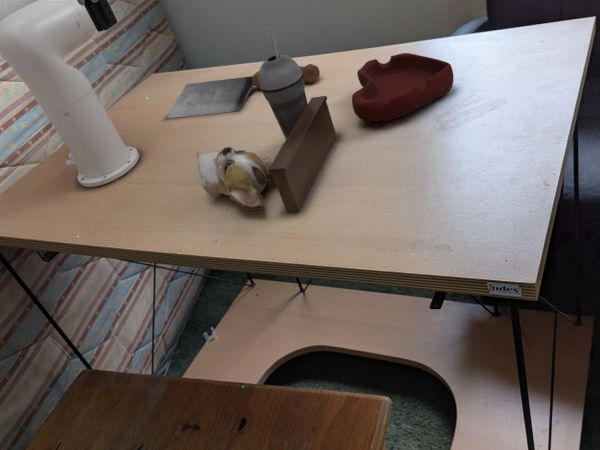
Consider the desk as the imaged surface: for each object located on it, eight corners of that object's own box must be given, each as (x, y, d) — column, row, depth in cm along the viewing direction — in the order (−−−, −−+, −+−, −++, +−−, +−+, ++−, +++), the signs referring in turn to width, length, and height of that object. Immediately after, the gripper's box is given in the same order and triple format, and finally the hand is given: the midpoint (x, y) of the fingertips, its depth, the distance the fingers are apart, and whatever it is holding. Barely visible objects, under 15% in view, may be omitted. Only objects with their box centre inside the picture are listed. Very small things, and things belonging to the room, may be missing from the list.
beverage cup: (289, 133, 99) (251, 24, 87) (327, 129, 96) (293, 15, 84) (276, 156, 94) (233, 43, 82) (316, 152, 91) (277, 35, 79)
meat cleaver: (166, 118, 122) (158, 102, 120) (191, 93, 130) (184, 77, 127) (304, 105, 107) (298, 86, 105) (323, 77, 115) (318, 59, 112)
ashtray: (457, 116, 86) (453, 87, 83) (355, 134, 91) (348, 107, 88) (453, 67, 100) (449, 41, 97) (364, 85, 105) (358, 61, 102)
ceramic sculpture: (213, 125, 89) (289, 133, 81) (231, 169, 94) (304, 180, 86) (170, 163, 83) (247, 177, 75) (192, 208, 88) (266, 225, 80)
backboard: (285, 212, 80) (267, 169, 75) (324, 137, 94) (311, 97, 89) (301, 212, 79) (284, 168, 74) (338, 136, 93) (326, 95, 88)
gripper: (98, -132, 72) (160, 8, 83) (18, -101, 78) (85, 26, 89) (62, -119, 67) (134, 28, 77) (-20, -87, 73) (56, 46, 84)
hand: (108, 27), depth 83 cm, fingers closed
